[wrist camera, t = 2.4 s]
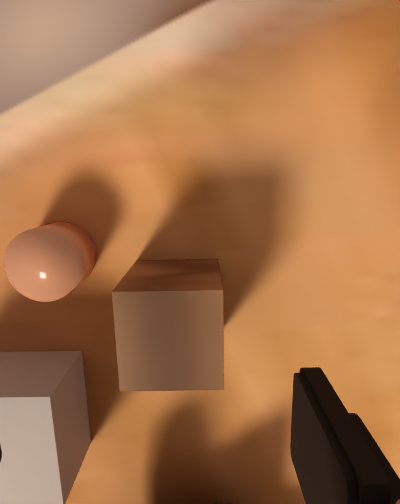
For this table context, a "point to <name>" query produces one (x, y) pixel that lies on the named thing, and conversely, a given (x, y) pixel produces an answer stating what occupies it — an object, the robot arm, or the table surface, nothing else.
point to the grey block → (41, 425)
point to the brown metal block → (170, 326)
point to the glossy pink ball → (49, 260)
